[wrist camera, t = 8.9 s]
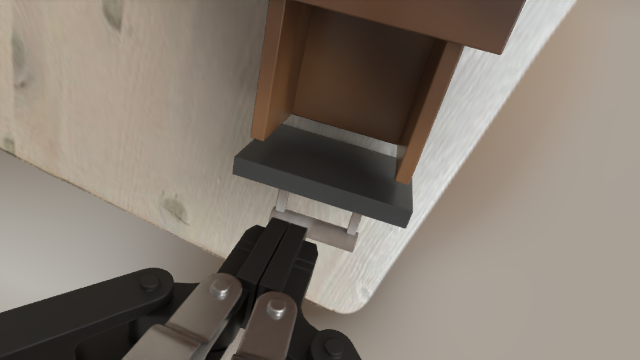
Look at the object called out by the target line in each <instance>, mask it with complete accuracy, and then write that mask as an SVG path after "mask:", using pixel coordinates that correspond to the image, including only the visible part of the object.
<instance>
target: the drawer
mask: <svg viewBox="0 0 640 360" xmlns="http://www.w3.org/2000/svg"><path fill="white" fill-rule="evenodd" d="M463 49H464V45H460V44H456V43H452V42H449V41H445V40H441V39H437V38H434V37H430V36H426V35H422V34H418V33H415V32H411V31H407V30H403V29H400V28H396V27H392V26H388V25H385V24H381V23H377V22H373V21H369V20H366V19H362V18H358V17H354V16H351V15H347V14H343V13H339V12H336V11H332V10H328V9H324V8H320V7H317V6H313V5H309V4H305V3H302V2H298V1H294V0H269V6H268V13H267V21H266V28H265V35H264V42H263V49H262V57H261V64H260V71H259V78H258V86H257V93H256V100H255V107H254V115H253V122H252V129H251V138H254V140H252V141H251V142H250V143H249V144H248V145H247V146H246V147H245V148H243V149H242V150H241V151H240V152H239V153H238V154H237V155H236V156H235V157H234V165H233V174H234V175H237V176H241V177H244V178H247V179H250V180H253V181H256V182H260V183H263V184H266V185H269V186H272V187H275V188H279V193H278V198H277V203H276V206H275V207H274V208H273V210H272V212H271V214H270V218H269V221H270V220H271V218H272V217H275V218H278V219H281V220H284V221H287V222H290V223H294V224H297V225H300V226H303V227H306V228H308V231H307V235H306V238H310V239H313V240H316V241H319V242H322V243H325V244H328V245H331V246H334V247H337V248H340V249H343V250H346V251H349V252H353V250H354V248H355V244H356V241H357V238H358V232H356V231H357V228H358V225H359V222H360V219H361V217H362V215H364V216H367V217H370V218H373V219H376V220H380V221H383V222H386V223H389V224H392V225H395V226H399V227H402V228H406V227H407V225H408V222H409V220H410V218H411V215H412V213H413V197H412V176H413V173H414V171H415V168H416V166H417V163H418V161H419V158H420V156H421V153H422V151H423V148H424V146H425V143H426V141H427V139H428V136H429V134H430V131H431V129H432V126H433V124H434V121H435V119H436V116H437V114H438V111H439V109H440V106H441V104H442V101H443V99H444V96H445V94H446V91H447V89H448V86H449V84H450V81H451V79H452V76H453V74H454V71H455V69H456V66H457V64H458V61H459V59H460V56H461V54H462V51H463ZM291 114H294V115H297V116H301V117H304V118H308V119H311V120H314V121H318V122H321V123H324V124H328V125H331V126H335V127H338V128H341V129H345V130H348V131H352V132H355V133H358V134H362V135H365V136H368V137H372V138H375V139H379V140H382V141H385V142H389V143H392V144H396V145H397V157H396V158H395V157H391V156H388V155H385V154H381V153H378V152H374V151H371V150H368V149H364V148H361V147H358V146H354V145H351V144H348V143H344V142H341V141H338V140H334V139H331V138H328V137H324V136H321V135H318V134H314V133H311V132H308V131H304V130H301V129H298V128H294V127H291V126H288V125H284V124H282V123H283V122H284V121H285V120H286V119H287V118H288V117H289V116H290V115H291ZM289 192H291V193H294V194H297V195H301V196H304V197H307V198H310V199H313V200H316V201H320V202H323V203H326V204H329V205H332V206H335V207H339V208H342V209H345V210H348V211H351V212H353V213H352V216H351V219H350V222H349V225H348V228H347V229H346V228H343V227H340V226H337V225H334V224H331V223H327V222H324V221H321V220H318V219H315V218H312V217H309V216H306V215H303V214H299V213H296V212H293V211H290V210H287V209H286V205H287V201H288V196H289Z"/></svg>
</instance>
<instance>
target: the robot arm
mask: <svg viewBox="0 0 640 360" xmlns="http://www.w3.org/2000/svg"><path fill="white" fill-rule="evenodd" d="M307 231H308V228H306V227H303V226H300V225H297V224H294V223H290V222H287V221H284V220H281V219H278V218H275V217H272V218H271V220H270V221H269V223H268V225H267V226H266V228H265V227H262V226H259V225H255V226H253V227H251V228H250V229H248V230H246V231H245V233H244V234H243V236H242V237H241V239H240V241H239V242H238V243H237V244H236V246H235V247H234V249H233V250H232V252H231V253H230V255H229V256H228V258H227V259H226V260H225V262H224V263H223V265H222V266H221V268H220V269H219V271H218V272H217V273H216V274H212V275H209V276H207V277H206V278H204V279H203V280H202V281H201V282H200V283H174V280H173V277H172V275H171V274H170V273H169V272H168V271H166V270H163V269H160V268H147V269H143V270H139V271H136V272H133V273H130V274H127V275H123V276H120V277H117V278H113V279H110V280H107V281H103V282H100V283H97V284H93V285H91V286H87V287H84V288H80V289H77V290H74V291H70V292H67V293H64V294H61V295H57V296H54V297H51V298H48V299H44V300H41V301H38V302H34V303H31V304H28V305H24V306H21V307H18V308H15V309H11V310H8V311H5V312H2V313H0V360H224V359H225V358H226V356H227V354H228V353H229V351H230V349H231V348H232V345H233V341H234V339H235V337H236V335H237V333H238V331H239V329H240V328H243V329H245V332H244V334H243V337H242V339H241V342H240V344H239V347H238V350H237V352H236V354H234V355H233V356H232V358H231V360H361V358H360V356H359V354H358V353H357V351H356V349H355V347H354V346H353V344H352V342H351V341H350V339H348V337H347V336H346V335H344V334H343V333H341V332H339V331H336V330H331V329H326V330H322V331H318V330H317V329H316V328H314V327H313V326H312V325H310V324H309V323H308V322H307V320H306V319H305V318H304V316H303V313H302V310H301V307H302V303H303V301H304V298H305V295H306V292H307V289H308V286H309V283H310V280H311V277H312V274H313V270H314V267H315V264H316V260H317V257H318V251H317V246H316V244H314V243H311V242H308V241H305V238H306V235H307Z"/></svg>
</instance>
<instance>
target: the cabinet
mask: <svg viewBox="0 0 640 360" xmlns="http://www.w3.org/2000/svg"><path fill="white" fill-rule="evenodd" d="M294 1H298V2H302V3H305V4H309V5H313V6H317V7H320V8H324V9H328V10H332V11H336V12H339V13H343V14H347V15H351V16H354V17H358V18H362V19H366V20H369V21H373V22H377V23H381V24H385V25H388V26H392V27H396V28H400V29H403V30H407V31H411V32H415V33H418V34H422V35H426V36H430V37H434V38H437V39H441V40H445V41H449V42H452V43H456V44H460V45H464V46H468V47H471V48H475V49H479V50H483V51H486V52H490V53H494V54H498V55H501V54H502V52H503V50H504V48H505V45H506V43H507V41H508V39H509V37H510V34H511V32H512V30H513V28H514V26H515V23H516V21H517V19H518V17H519V15H520V12H521V10H522V8H523V6H524V4H525V1H526V0H294Z"/></svg>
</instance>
